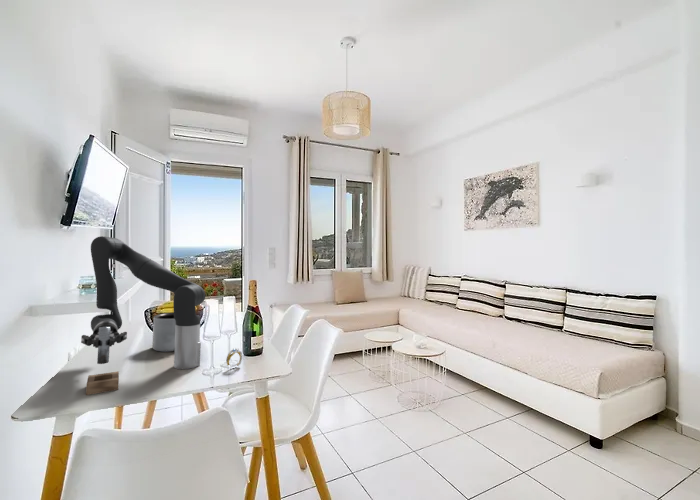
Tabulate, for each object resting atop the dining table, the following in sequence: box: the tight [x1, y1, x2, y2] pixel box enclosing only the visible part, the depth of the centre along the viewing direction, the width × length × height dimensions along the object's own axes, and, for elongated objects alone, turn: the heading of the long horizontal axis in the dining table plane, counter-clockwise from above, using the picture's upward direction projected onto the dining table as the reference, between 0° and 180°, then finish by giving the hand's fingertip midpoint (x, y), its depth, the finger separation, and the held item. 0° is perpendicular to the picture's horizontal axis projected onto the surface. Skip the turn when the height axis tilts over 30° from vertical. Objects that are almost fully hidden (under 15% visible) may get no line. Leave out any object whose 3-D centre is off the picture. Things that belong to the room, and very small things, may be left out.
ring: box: [225, 347, 244, 367], centre depth 138 cm, size 7×3×8 cm, turn 138°
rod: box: [96, 326, 111, 365], centre depth 115 cm, size 3×3×12 cm
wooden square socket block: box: [85, 371, 120, 396], centre depth 115 cm, size 9×9×4 cm
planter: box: [151, 312, 176, 353], centre depth 163 cm, size 16×16×16 cm
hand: (103, 344), depth 113 cm, fingers closed on rod, 3 cm apart
